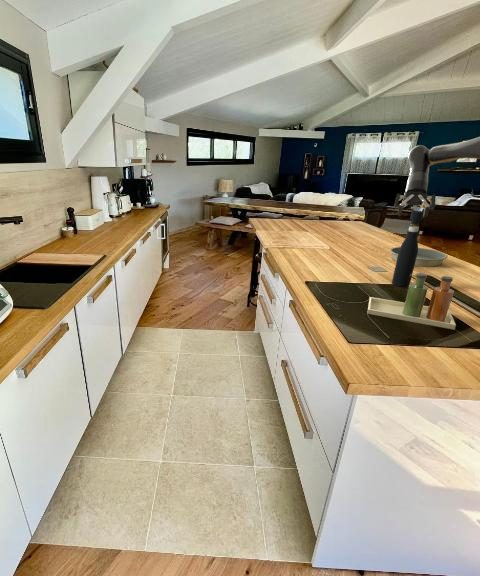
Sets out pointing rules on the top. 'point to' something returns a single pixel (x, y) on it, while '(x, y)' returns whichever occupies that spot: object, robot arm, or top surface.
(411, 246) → the dark grey bottle
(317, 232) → the top surface
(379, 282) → the top surface
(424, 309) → the tray
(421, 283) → the olive bottle
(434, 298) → the amber oil bottle
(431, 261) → the cake pan
